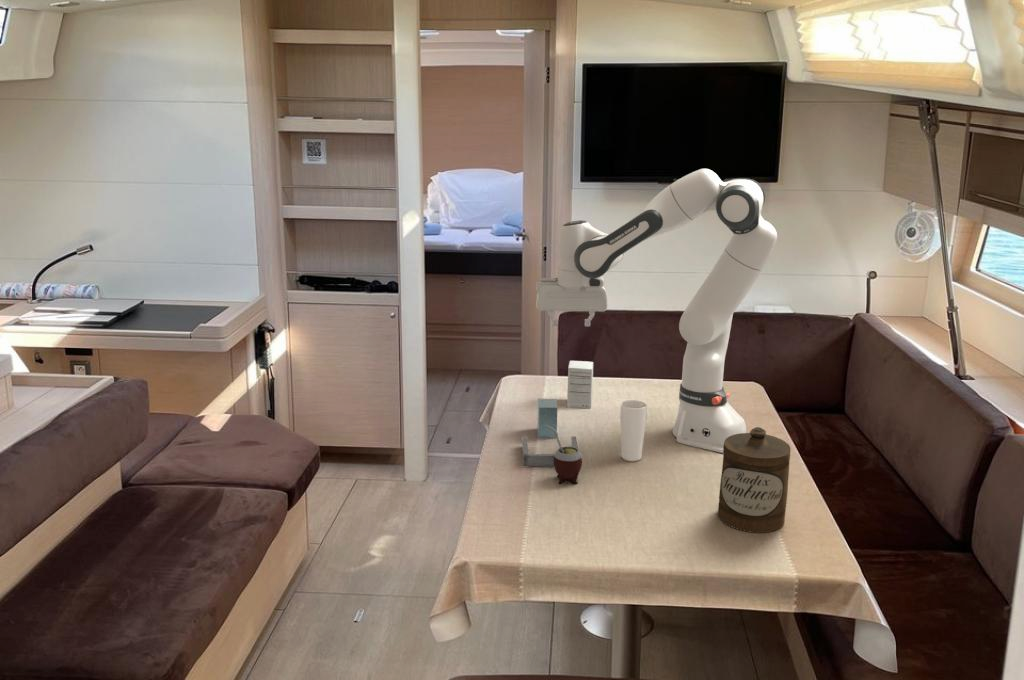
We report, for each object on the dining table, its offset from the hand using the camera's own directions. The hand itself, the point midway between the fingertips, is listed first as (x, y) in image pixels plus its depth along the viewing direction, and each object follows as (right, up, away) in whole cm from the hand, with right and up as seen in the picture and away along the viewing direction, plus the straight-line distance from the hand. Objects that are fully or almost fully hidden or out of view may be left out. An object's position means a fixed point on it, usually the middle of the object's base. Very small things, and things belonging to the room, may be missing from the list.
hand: (570, 325), depth 272 cm
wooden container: (+38, -45, -54) cm, 79 cm away
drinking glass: (+15, -35, -22) cm, 44 cm away
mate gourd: (-4, -39, -36) cm, 53 cm away
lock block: (-7, -30, -6) cm, 32 cm away
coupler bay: (-7, -34, -21) cm, 41 cm away
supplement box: (+4, -24, +18) cm, 30 cm away
